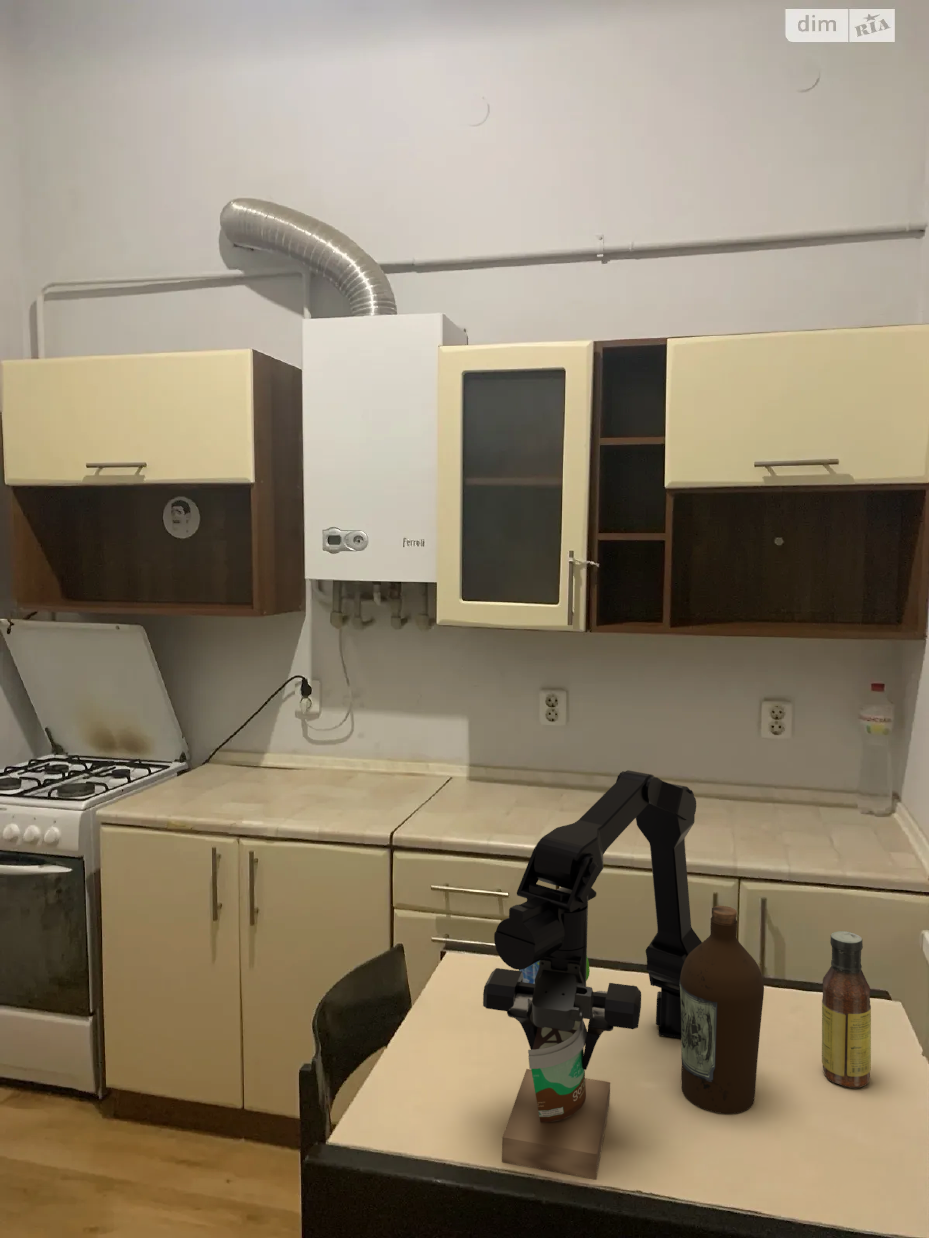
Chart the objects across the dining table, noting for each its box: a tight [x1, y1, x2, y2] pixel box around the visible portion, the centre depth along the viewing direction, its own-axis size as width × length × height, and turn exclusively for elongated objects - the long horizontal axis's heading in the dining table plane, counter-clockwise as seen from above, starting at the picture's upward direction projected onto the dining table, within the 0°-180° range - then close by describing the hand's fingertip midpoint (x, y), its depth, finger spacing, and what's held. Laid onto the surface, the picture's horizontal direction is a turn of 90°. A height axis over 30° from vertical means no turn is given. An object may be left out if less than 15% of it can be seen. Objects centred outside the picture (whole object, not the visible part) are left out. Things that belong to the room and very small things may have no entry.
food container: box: [527, 1019, 588, 1122], centre depth 113 cm, size 12×6×10 cm, turn 166°
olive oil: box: [680, 905, 765, 1115], centre depth 121 cm, size 11×11×25 cm
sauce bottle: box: [821, 930, 872, 1089], centre depth 125 cm, size 6×6×20 cm
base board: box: [501, 1068, 611, 1180], centre depth 113 cm, size 11×15×3 cm
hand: (560, 1064), depth 112 cm, fingers closed on food container, 5 cm apart
